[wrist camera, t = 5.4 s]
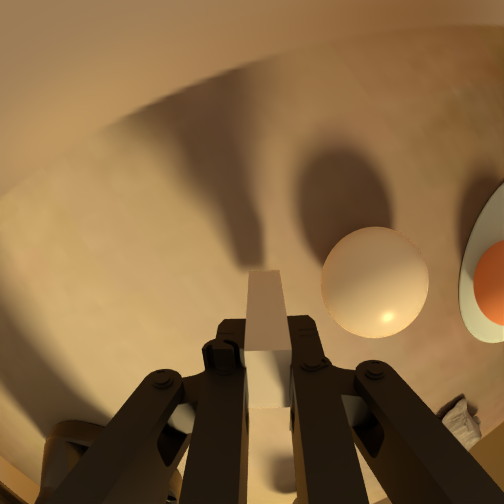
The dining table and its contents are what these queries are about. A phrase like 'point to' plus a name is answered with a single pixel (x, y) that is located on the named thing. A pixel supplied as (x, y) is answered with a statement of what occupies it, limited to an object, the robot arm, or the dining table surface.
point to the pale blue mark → (481, 238)
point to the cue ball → (374, 282)
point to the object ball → (491, 283)
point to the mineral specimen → (463, 425)
